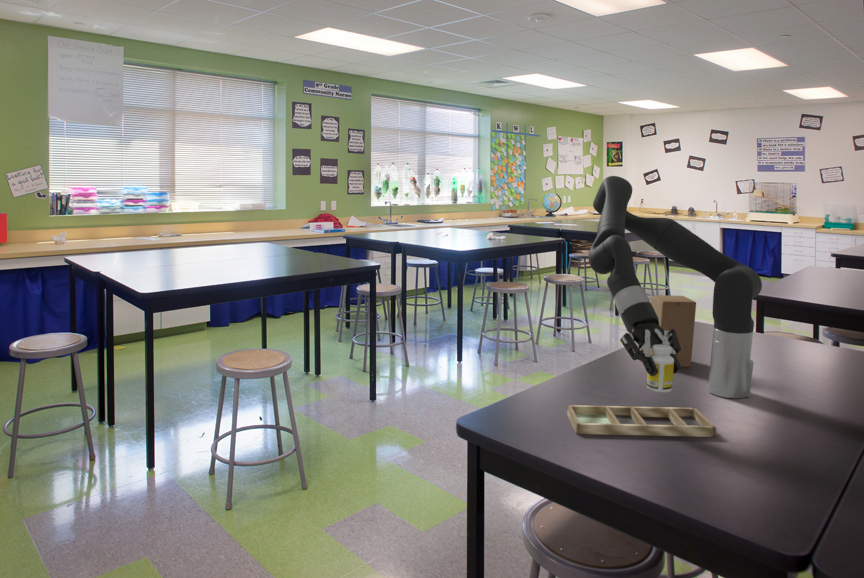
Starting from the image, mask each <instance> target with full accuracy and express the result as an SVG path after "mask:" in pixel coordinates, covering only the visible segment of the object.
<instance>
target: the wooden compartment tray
mask: <svg viewBox="0 0 864 578" xmlns="http://www.w3.org/2000/svg"><path fill="white" fill-rule="evenodd" d="M566 415H567V417H568V419H569V422H570V424H571V426H572V428H573V430H574V431H575V434H576V435H609V436H610V435H611V436H612V435H614V436H615V435H616V436H653V437H654V436H658V437H699V438H701V437H702V438H704V437H705V438H707V437H708V438H715V437H716V432H717V427H716V426H715V425H714V424H713V423H712V422H711V421H710V420H709V419H708V418H707V417H706V416H705V415H703V413H701V411H700V410H698V409H697V408H696V407H679V406H678V407H675V406H673V407H670V406H665V407H664V406H626V405H625V406H624V405H623V406H622V405H620V406H619V405H578V404H576V405H575V404H572V405H571V404H569V405H568V404H567V405H566ZM643 418H668V419H669V421H670V422H671V424H647V423H646V421H645V419H643Z"/></svg>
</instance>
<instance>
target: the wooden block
mask: <svg viewBox="0 0 864 578" xmlns="http://www.w3.org/2000/svg"><path fill="white" fill-rule="evenodd" d="M650 302H651V304H652V306H653V308H654V310H655V312H656V314H657V316H658V319H659V325H660V327H661V328H663V330H665V331H670V330H671V329H674V330H675V331H676V335H677V338H678V341H679V344H680V347H681V351H680V352H679V353H678V354H677V355H676V357H677V359H678V361H679V364H680V365H681V368H691V365H692V358H693V357H692V355H693V345H694V333H695V320H696V309H697V302H696V301H695V300H692V299H691V298H688V297H687V296H684V295H664V294H663V295H655V294H654V295H652V296H651V300H650ZM661 345H663V343H662V344H661ZM649 351H650V355H652V354H653V352H652V348H650V349H649Z"/></svg>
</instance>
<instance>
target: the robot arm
mask: <svg viewBox="0 0 864 578" xmlns="http://www.w3.org/2000/svg"><path fill="white" fill-rule="evenodd" d="M632 194H633V185H632V184H631V182H629V181H628V180H627V179H625V178H624V177H620V176H617V175H610V176H607V177H605V178H604V179H603V180H602V182H601V184H600V185H599V187H598V190H597V193H596V195H595V197H594V199H593V203H592V207H593V209H594V210H595V212H597V213H598V214H599V215H600V216H599V220H598V224H597V231H596V238H595V239H594V241H593V243H592V245H591V247H590V249H589V251H588V263H589V266H590V268H591V269H592V271H594V272H595V273H597V274H599V275H607V274H609V276H608V277H607V280H606V283H607V287H608V289H609V292H610V294H611V295H612V296H611V297H612V298H613V300H614V304H615V307H616V309H617V312H618V314H619V316H620V318H621V321H622V322H623V326H625V327H624V328H625V329H626V331H627V332H625V333H624V334H623V335H622V336H621V337H620V338H619V339H620V340H619V341H620V342H621V344H622V345H623V347H624V349H625V350H626V352H627V353H628V355H629V357H630V358H631V359H632V360H633V361H639V362H641V363H642V364H643V366H644V369H645V371H646V374H650V376H655V375H656V374H657V373H658V370H657V368H656V366H655V364H654V361H653V359H652V357H649V356H650V351H649V349H650V348H652V347H653V345H661V344H662V343H663V345H667V346H670V347H671V348H672V349H671V354H670V356H671V357H673V359H674V370H673V375H674V374H676V375H677V374H678V373H679V372H680V371H681V370H682V367H681V365H680V364H679V361H678V359H677V357H676V355H677V354H678V353H679V352H680V351H681V347H680V344H679V341H678V338H677V335H676V331H675V330H674V329H671V330H670V331H665V330H663V328H661V327H660V325H659V319H658V316H657V314H656V312H655V310H654V308H653V306H652V304H651V300H650V298H649V297H648V295H647V292H645V290H644V288H643V287H642V285H641V283H640V280H639V279H638V276H637V274H636V270H635V264H634V256H633V252H632V247H631V245H630V244H629V242H628V241H627V239H625V238H626V237H625V236H626V231H628V232H630V233H631V234H633V235H634V236H636V237H637V238H639V239H640V240H641V241H643V242H644V243H646V244H647V245H648V246H650V247H651V248H652V249H654V250H655V251H657V252H658V253H660V254H661V255H662V256H664V257H665V258H667V259H669V260H670V261H673V262H674V263H677V264H678V265H682V266H683V267H686V268H688V269H692V270H693V271H696V272H698V273H700V274H702V275H704V276H705V277H707V278H708V279H710V280H711V281H712V282H714V286H713V296H712V319H713V332H712V343H711V351H710V352H711V354H710V365H709V375H708V381H707V383H708V385H707V386H708V387H707V391H708V392H709V393H711V394H713V395H715V396H717V397H720V398H726V399H743V398H746V397H748V398H750V397H751V390H752V389H751V388H752V379H753V373H754V371H753V370H754V360H752V359H751V355H752V344H753V337H754V328H755V321H754V319H753V317H752V307H753V299H755V298H757V296H759V295H760V294H761V292H762V289H763V284H762V283H763V281H762V279H761V277H760V275H759V274H758V272H756V271H755V270H754V269H752V268H751V267H750V266H747V265H745V264H743V263H741V262H739V261H737V260H735V259H734V258H732V257H730V256H728V255H726V254H724V253H722V252H721V251H719V250H718V249H716V248H715V247H714V246H712V245H711V244H709V243H708V242H707V241H705V239H702V238H701V237H699V236H698V235H697V234H695V233H694V232H693V231H691V230H689V228H687V227H685V226H683V225H682V224H680V223H679V222H677V220H674V219H671V218H667V217H641V216H637V215H635V214H633V213H632V212H630V211H628V210H627V209H628V205H629V202H630V200H631V197H632Z"/></svg>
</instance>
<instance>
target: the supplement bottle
mask: <svg viewBox="0 0 864 578" xmlns="http://www.w3.org/2000/svg"><path fill="white" fill-rule="evenodd" d="M671 349H672V348H671V347H670V346H667V345H653V347H652V352H653V354H652V355H650V356H649V357H652V359H653V361H654V364H655V366H656V368H657V370H658V373H657V374H656V375H655V376H650V374H648V373H646V374H647V377H646V379H647V381H646V388H647V389H648V390H650V391H653V392H657V393H669V392H671V391H673V383H674V381H673V380H674V374H673V370H674V359H673V357H671V356H670V354H671Z"/></svg>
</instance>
